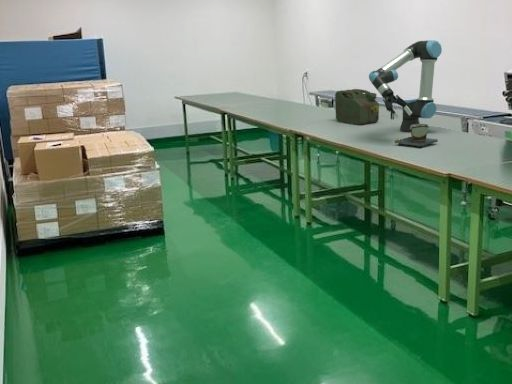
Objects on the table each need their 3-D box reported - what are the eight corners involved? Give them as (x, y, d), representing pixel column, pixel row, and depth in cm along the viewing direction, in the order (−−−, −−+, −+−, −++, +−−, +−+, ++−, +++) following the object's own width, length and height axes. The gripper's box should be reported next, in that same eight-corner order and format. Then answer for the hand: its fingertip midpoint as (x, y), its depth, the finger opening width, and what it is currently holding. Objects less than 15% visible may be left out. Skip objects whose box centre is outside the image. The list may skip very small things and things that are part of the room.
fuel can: (360, 125, 437) (360, 92, 430) (335, 121, 468) (334, 90, 460) (379, 123, 445) (379, 90, 438) (353, 119, 476) (353, 88, 469)
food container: (423, 138, 352) (423, 123, 349) (428, 139, 346) (428, 124, 343) (406, 140, 349) (406, 124, 347) (410, 141, 343) (411, 126, 341)
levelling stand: (411, 140, 361) (411, 135, 360) (437, 144, 346) (437, 137, 345) (394, 145, 351) (394, 139, 350) (420, 148, 335) (420, 142, 334)
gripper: (394, 93, 368) (412, 116, 360) (370, 97, 353) (389, 122, 346) (400, 85, 362) (419, 109, 355) (377, 89, 348) (395, 114, 340)
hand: (404, 115), depth 350 cm, fingers open, 13 cm apart
